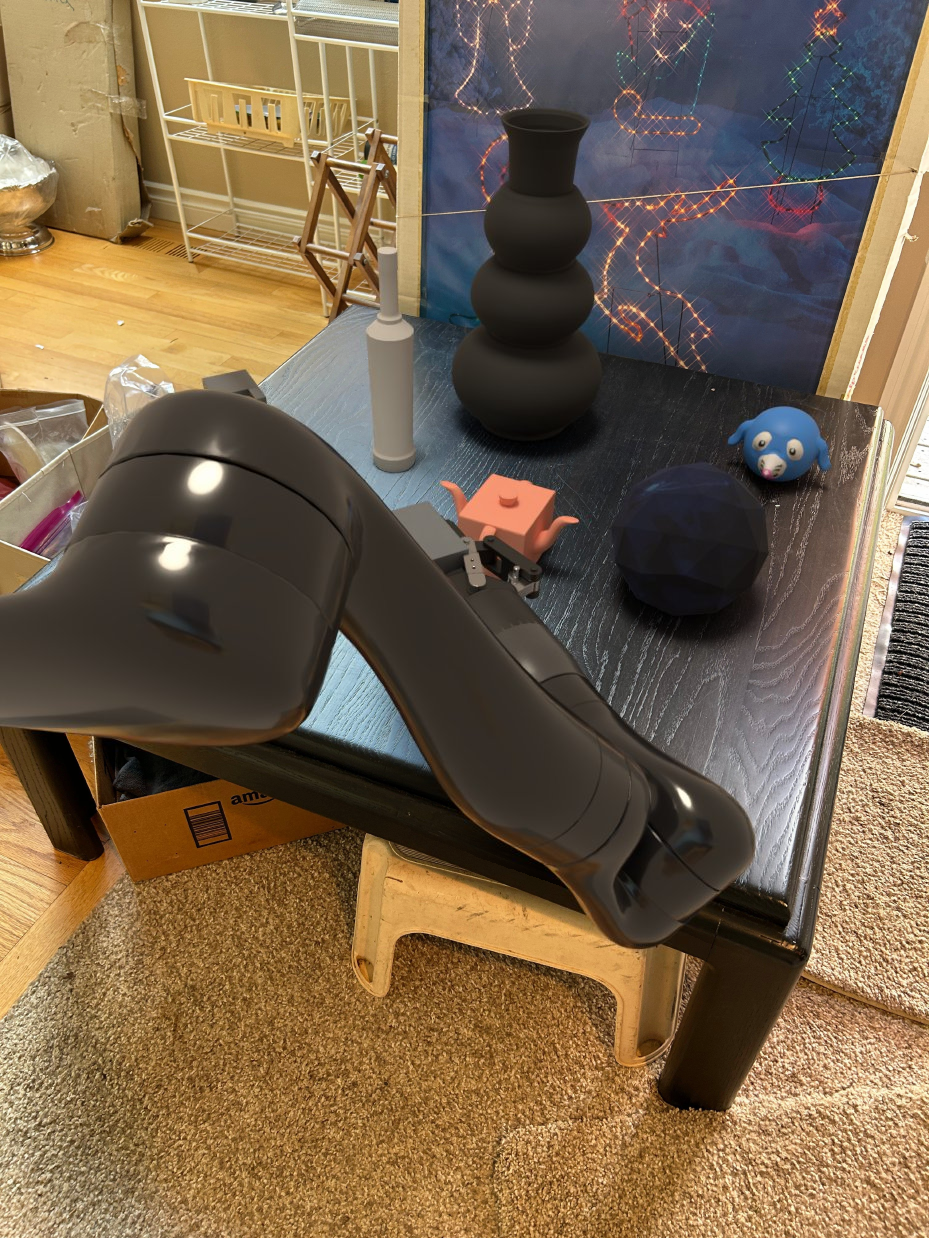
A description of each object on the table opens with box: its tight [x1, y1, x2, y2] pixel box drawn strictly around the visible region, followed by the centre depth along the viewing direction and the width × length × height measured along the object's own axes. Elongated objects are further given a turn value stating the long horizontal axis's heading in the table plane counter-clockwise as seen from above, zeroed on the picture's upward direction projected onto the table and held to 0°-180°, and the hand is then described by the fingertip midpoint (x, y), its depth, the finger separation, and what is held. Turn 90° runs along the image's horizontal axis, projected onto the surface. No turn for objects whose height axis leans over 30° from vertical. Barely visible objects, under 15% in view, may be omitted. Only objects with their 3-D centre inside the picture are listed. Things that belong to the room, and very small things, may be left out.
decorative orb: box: [610, 461, 770, 617], centre depth 86 cm, size 14×15×15 cm
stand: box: [201, 368, 268, 404], centre depth 99 cm, size 6×15×11 cm, turn 28°
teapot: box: [440, 473, 580, 580], centre depth 92 cm, size 12×15×8 cm
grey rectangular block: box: [391, 500, 469, 575], centre depth 73 cm, size 5×9×10 cm, turn 28°
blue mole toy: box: [727, 406, 832, 482], centre depth 104 cm, size 12×12×8 cm
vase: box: [451, 107, 603, 442], centre depth 104 cm, size 18×18×35 cm
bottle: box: [365, 246, 416, 473], centre depth 100 cm, size 5×5×25 cm
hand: (404, 534), depth 72 cm, fingers closed on grey rectangular block, 5 cm apart
